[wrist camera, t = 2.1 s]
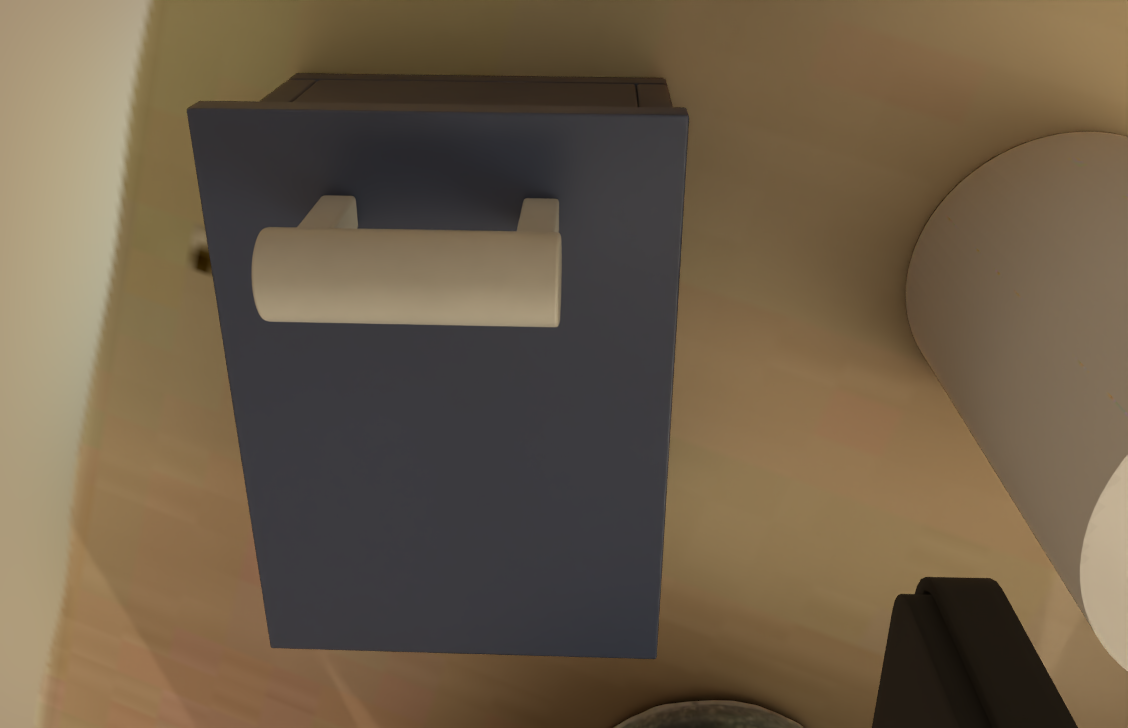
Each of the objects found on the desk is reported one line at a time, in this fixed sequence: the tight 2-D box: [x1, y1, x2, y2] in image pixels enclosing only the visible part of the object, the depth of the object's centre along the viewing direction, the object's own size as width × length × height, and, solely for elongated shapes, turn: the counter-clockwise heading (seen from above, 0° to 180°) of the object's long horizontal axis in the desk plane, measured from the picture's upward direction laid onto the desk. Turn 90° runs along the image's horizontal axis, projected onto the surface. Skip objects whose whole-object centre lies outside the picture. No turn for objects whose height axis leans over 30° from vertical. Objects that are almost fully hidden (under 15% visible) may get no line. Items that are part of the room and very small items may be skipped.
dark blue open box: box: [259, 73, 673, 107], centre depth 27 cm, size 13×10×7 cm
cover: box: [187, 101, 689, 659], centre depth 21 cm, size 13×10×5 cm
